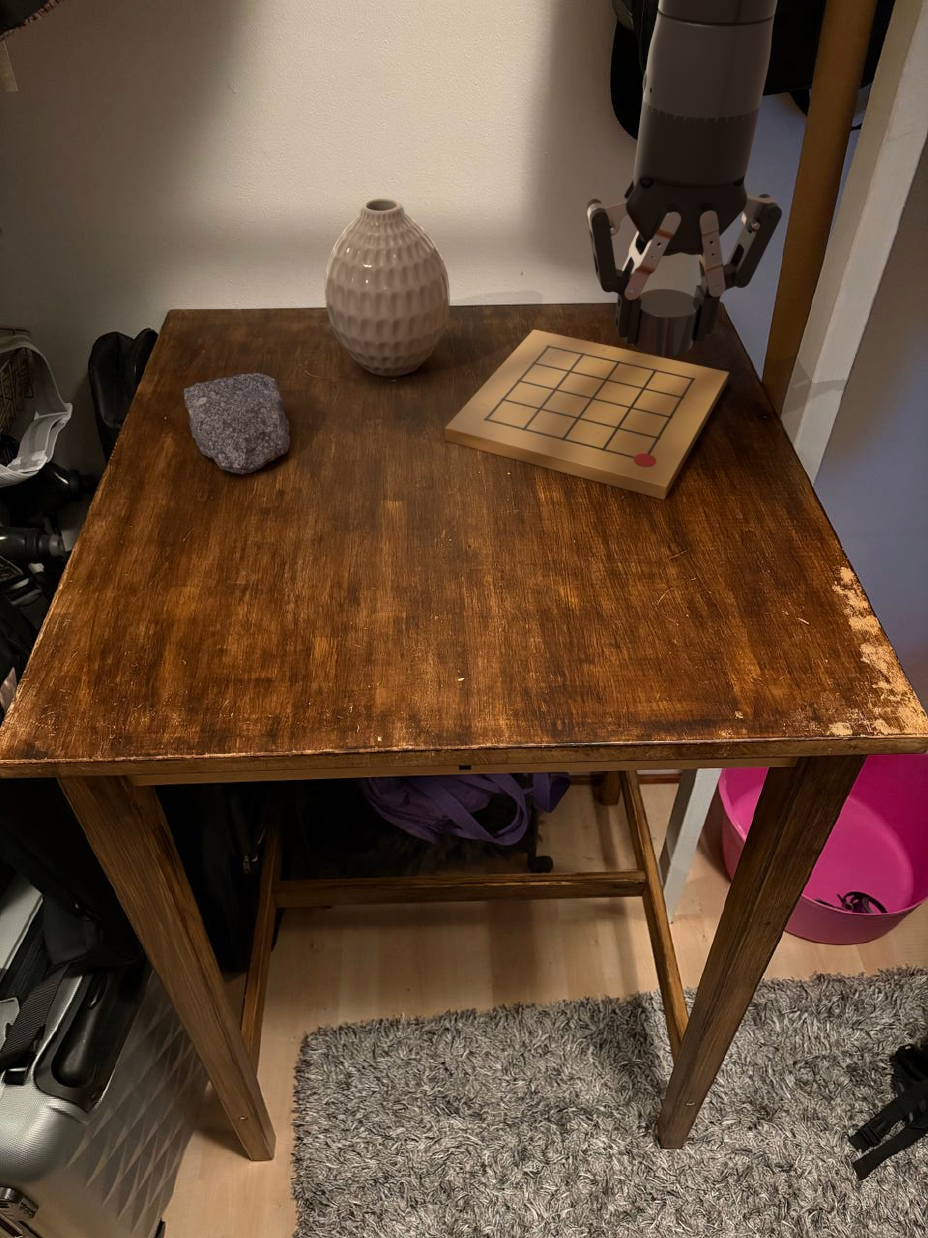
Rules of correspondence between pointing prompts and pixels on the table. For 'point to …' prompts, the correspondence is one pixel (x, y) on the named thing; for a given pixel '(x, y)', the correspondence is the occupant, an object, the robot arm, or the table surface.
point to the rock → (238, 421)
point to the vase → (387, 290)
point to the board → (592, 412)
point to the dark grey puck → (666, 322)
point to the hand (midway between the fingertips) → (662, 337)
